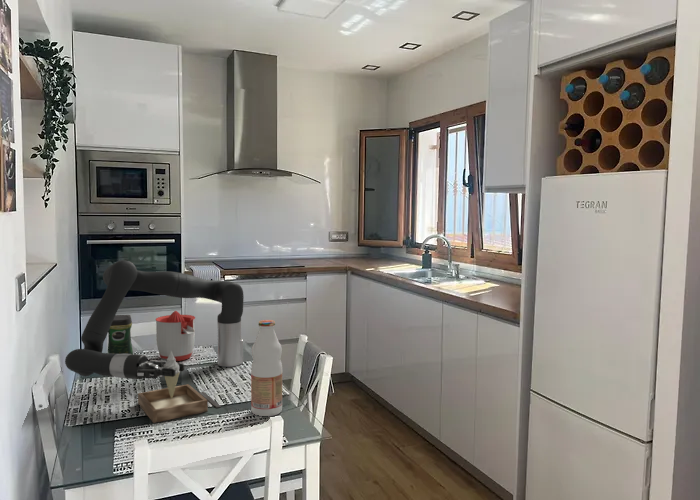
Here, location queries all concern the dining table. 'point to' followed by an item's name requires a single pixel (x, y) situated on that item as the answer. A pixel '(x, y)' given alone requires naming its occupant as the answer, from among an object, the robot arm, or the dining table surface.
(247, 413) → the dining table surface
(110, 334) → the coffee jar
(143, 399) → the tray
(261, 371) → the fruit juice
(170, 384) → the ice cream cone
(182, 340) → the citrus juicer
